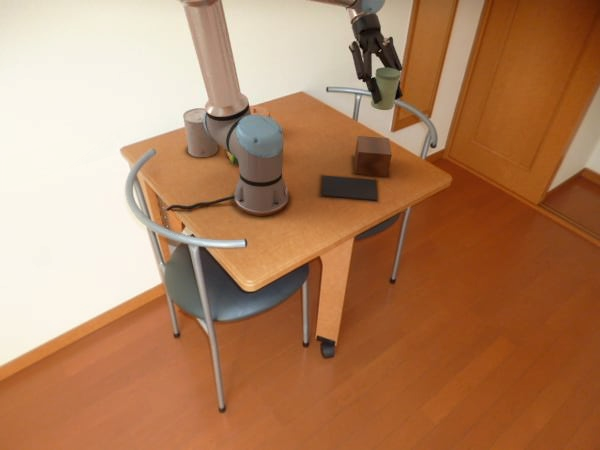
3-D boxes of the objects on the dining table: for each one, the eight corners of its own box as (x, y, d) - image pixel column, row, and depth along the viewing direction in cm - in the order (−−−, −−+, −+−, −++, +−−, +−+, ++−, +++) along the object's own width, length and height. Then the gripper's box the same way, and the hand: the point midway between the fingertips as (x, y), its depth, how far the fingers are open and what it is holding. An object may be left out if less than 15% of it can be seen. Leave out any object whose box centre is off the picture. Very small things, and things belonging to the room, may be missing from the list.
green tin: (370, 109, 116) (376, 75, 110) (369, 99, 121) (375, 66, 115) (394, 111, 116) (401, 77, 110) (393, 101, 121) (399, 68, 115)
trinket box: (272, 126, 151) (272, 102, 145) (267, 141, 143) (267, 116, 137) (243, 124, 152) (242, 99, 146) (236, 138, 144) (235, 113, 138)
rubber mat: (321, 196, 121) (321, 194, 121) (322, 176, 129) (323, 175, 129) (376, 200, 121) (376, 199, 121) (374, 181, 128) (374, 179, 128)
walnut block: (355, 174, 131) (358, 151, 126) (354, 157, 138) (357, 135, 133) (386, 176, 131) (391, 154, 125) (384, 159, 138) (389, 138, 133)
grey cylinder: (183, 154, 135) (177, 119, 127) (195, 140, 142) (191, 106, 134) (210, 159, 133) (206, 124, 125) (222, 144, 140) (219, 110, 132)
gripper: (384, 24, 123) (407, 99, 123) (328, 30, 115) (352, 110, 115) (399, 9, 116) (424, 89, 116) (340, 15, 108) (366, 100, 108)
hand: (388, 99), depth 115 cm, fingers closed on green tin, 6 cm apart
